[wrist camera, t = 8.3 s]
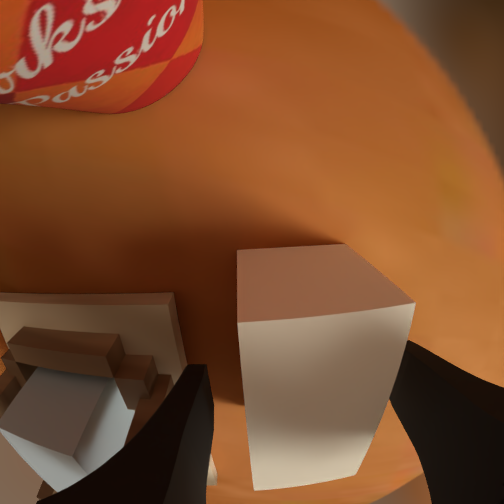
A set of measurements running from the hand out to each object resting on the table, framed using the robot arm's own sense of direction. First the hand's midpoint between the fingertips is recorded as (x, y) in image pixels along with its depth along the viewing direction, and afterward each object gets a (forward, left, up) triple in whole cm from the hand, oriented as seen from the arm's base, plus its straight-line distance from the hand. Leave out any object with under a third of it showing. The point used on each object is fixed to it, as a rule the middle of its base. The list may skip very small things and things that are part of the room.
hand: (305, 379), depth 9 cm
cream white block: (0, 0, -3) cm, 3 cm away
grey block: (-4, +10, -2) cm, 11 cm away
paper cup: (+12, +6, -3) cm, 13 cm away
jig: (-5, +10, -3) cm, 11 cm away
